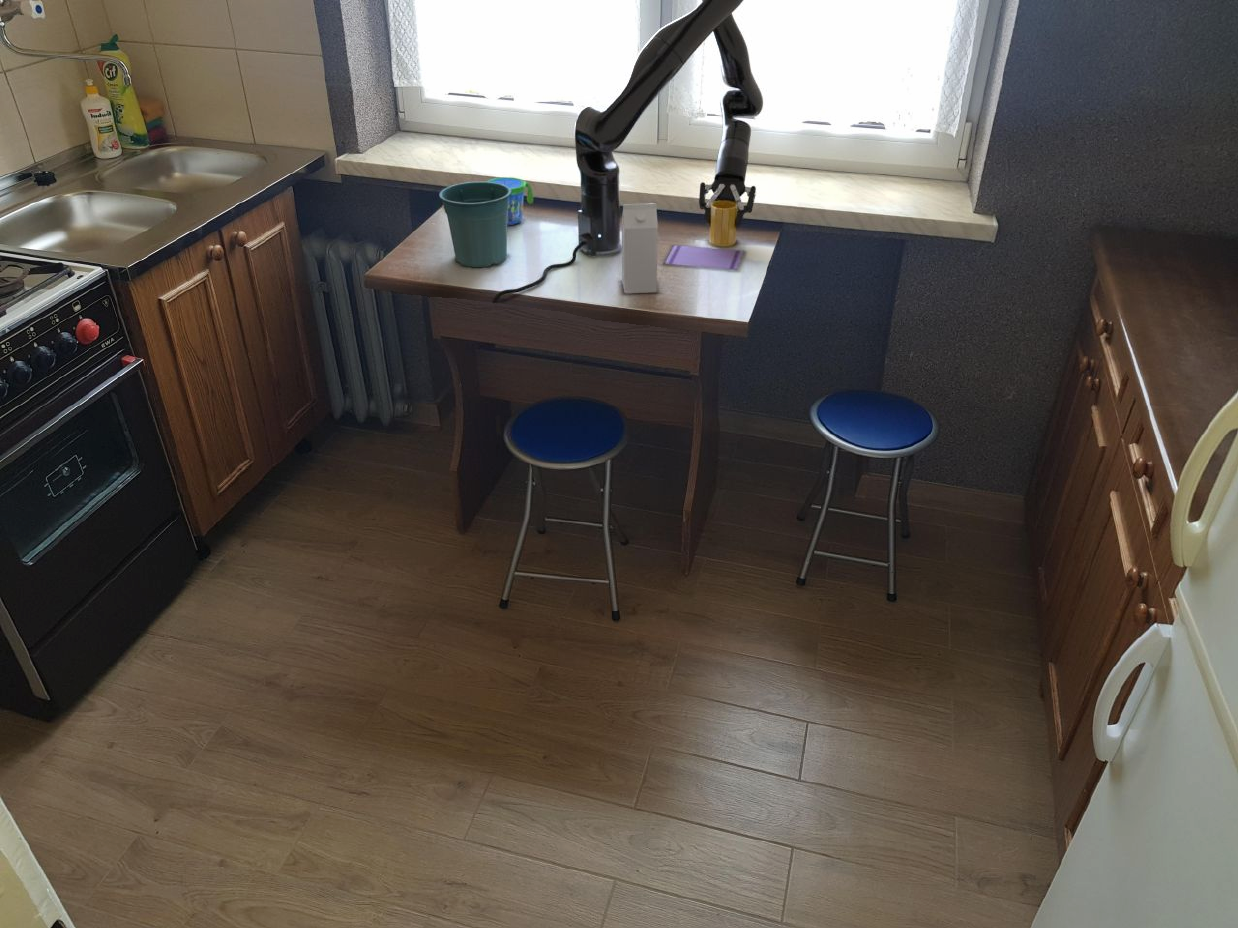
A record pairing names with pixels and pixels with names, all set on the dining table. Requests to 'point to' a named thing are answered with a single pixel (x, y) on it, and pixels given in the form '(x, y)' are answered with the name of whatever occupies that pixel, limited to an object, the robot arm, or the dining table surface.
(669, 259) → the cloth
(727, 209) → the tumbler
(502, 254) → the flower pot
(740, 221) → the robot arm
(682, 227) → the dining table surface
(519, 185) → the snack cup
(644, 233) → the milk carton
